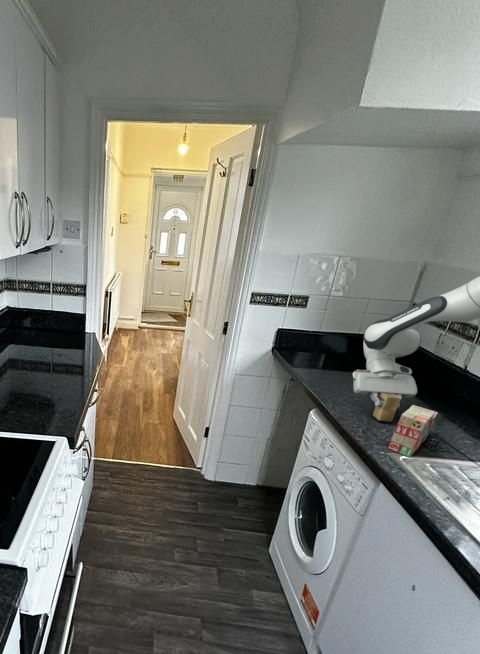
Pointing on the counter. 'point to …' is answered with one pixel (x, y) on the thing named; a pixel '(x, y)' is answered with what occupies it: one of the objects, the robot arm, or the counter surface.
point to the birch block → (386, 407)
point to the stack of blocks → (412, 430)
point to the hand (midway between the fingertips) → (387, 406)
